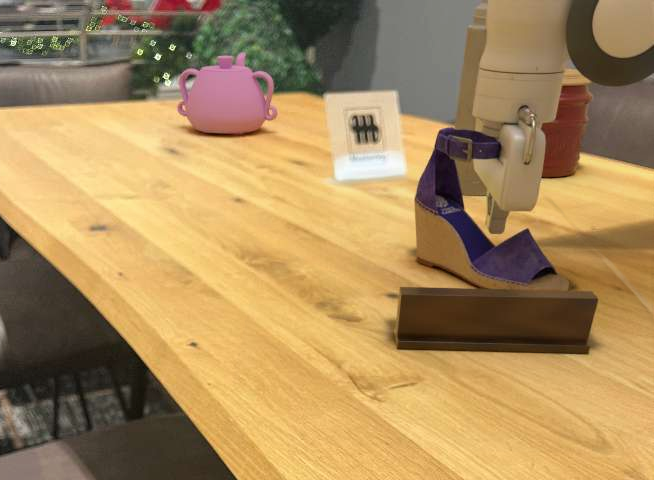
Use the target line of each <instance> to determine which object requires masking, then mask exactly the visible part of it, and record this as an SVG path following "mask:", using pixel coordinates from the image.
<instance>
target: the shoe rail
mask: <svg viewBox="0 0 654 480" xmlns="http://www.w3.org/2000/svg"><path fill="white" fill-rule="evenodd" d="M398 290H399V291H398V299H397V300H398V301H397V310H396V321H395V325H394V327H393V328H394V329H393V333H394V339H395V344H396V349H398V350H434V351H435V350H436V351H437V350H439V351H473V352H475V351H476V352H512V353H514V352H516V353H550V354H555V353H557V354H589V353H590V350H591V344H590V343H589V338H590V334H591V330H592V326H593V322H594V319H595V314H596V311H597V307H598V302H599V297H598V296H597V295H596V293H595V292H594V291H592V290H568V291H560V290H516V289H483V288H471V287H469V288H467V287H466V288H465V287H460V288H459V287H426V286H425V287H424V286H421V287H419V286H399V289H398Z"/></svg>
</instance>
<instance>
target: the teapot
mask: <svg viewBox="0 0 654 480" xmlns="http://www.w3.org/2000/svg"><path fill="white" fill-rule="evenodd" d="M246 57H247V53H246V52H245V51H242V52H239V54H237V56H236V60H235V57H234V56H233V55H218V56H216V60H217V63H218V65H207V66H203V67H201V68H200V69H199V70H198V69H196V68H187V69H185V70H184V71H183V72H182V73H181V74H180V75H179V79H178V85H179V86H178V87H179V91H180V95H181V97H182V100H181V101H179V102H178V104H177V107H176V109H177V113H178V114H179V115H180V116H182V117H186V119H187V120H188V122H189V124H191V126H192V127H193V128H194V129H195V130H197V131H199V132H202V133H203V134H231V135H232V136H233V135H234V136H242V135H244V133H250V132H255V131H258V130H259V129H261V127H262V126H263V124H264V123H265V122H266V121H269V122H270V121H274V120H276V118H277V117H278V109H277V106H275V105H271V104H272V99H273V95H274V90H275V84H274V80H273V78H272V76H271V74H269V73H268V72H266V71H264V70H263V71H262V70H257V71H254V72H253V70H252V69H251V68H250V67H248V66H246V65H245V62H246ZM234 60H235V62H234ZM233 63H235V65H233ZM189 75H192V76H196V77H195V79H194V80H193V83H192V84H191V88H190V89H189V92H188V90H187V85H186V79H187V77H188V76H189ZM257 78H263V79H265V81H266V82H267V93H266V96H265V93H264V91H263V89H262V87H261V84H260V83H259V81H258V79H257ZM183 106H184V109H185V110H184V109H183ZM270 110H271V111H272V114H270Z"/></svg>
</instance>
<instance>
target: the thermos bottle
mask: <svg viewBox="0 0 654 480" xmlns="http://www.w3.org/2000/svg"><path fill="white" fill-rule="evenodd" d="M487 5H488V0H481V3H480V4H479V5H477V6H476V7H474V13H473V15H472V17H473V22H472V23H471V24H469V25H468V26H467V29H466V37H465V45H464V55H463V61H462V62H463V63H462V69H461V76H460V82H459V83H460V84H459V90H458V98H457V107H456V115H455V122H454V129H468V130H473V131H475V125H476V117H474V116H473V115H472V112H473V99H474V92H475V88H476V83H477V76H478V70H479V63H480V60H481V57H482V55H483V52H484V49H485V46H486V40H487V29H486V12H487ZM455 163H456V168H457V172H458V176H459V181H460V186H461V190H462V195H464V196H487V188H486V186H485V185H484V183H483V182H482V180H481V179H480V177H479V176H478V174H477V173H476V171H475V170H474V162H473V159H471V162H469V163H466V162H461V161H457V160H455Z"/></svg>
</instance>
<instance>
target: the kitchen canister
mask: <svg viewBox="0 0 654 480" xmlns="http://www.w3.org/2000/svg"><path fill="white" fill-rule="evenodd" d="M567 66H568V63H567V64H566V68H565V73H564V77H563V83H562V88H561V93H560V98H559V103H558V108H557V113H556V118H555V120H553V121H551V122H547V123H542V127H541V131H543V133H544V134H545V139H546V145H545V156H544V163H543V170H542V176H541V178H558V177H566V176H570V175H573V174H575V173H576V171H577V168H578V166H579V165H580V160H581V151H582V146H583V141H584V138H585V137H584V136H585V133H586V128H587V124H588V121H589V117H588V109H589V104H590V103H591V102H592V101H593V100H594V95H593V94H592V93H591V92H590V91H589V87H588V85H590V84H592V81H590V80H588V79H587V78H586V77H584V76H583V75H582V74H581V73H580V72H579V71H578V70H577V69H576V68H567Z"/></svg>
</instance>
